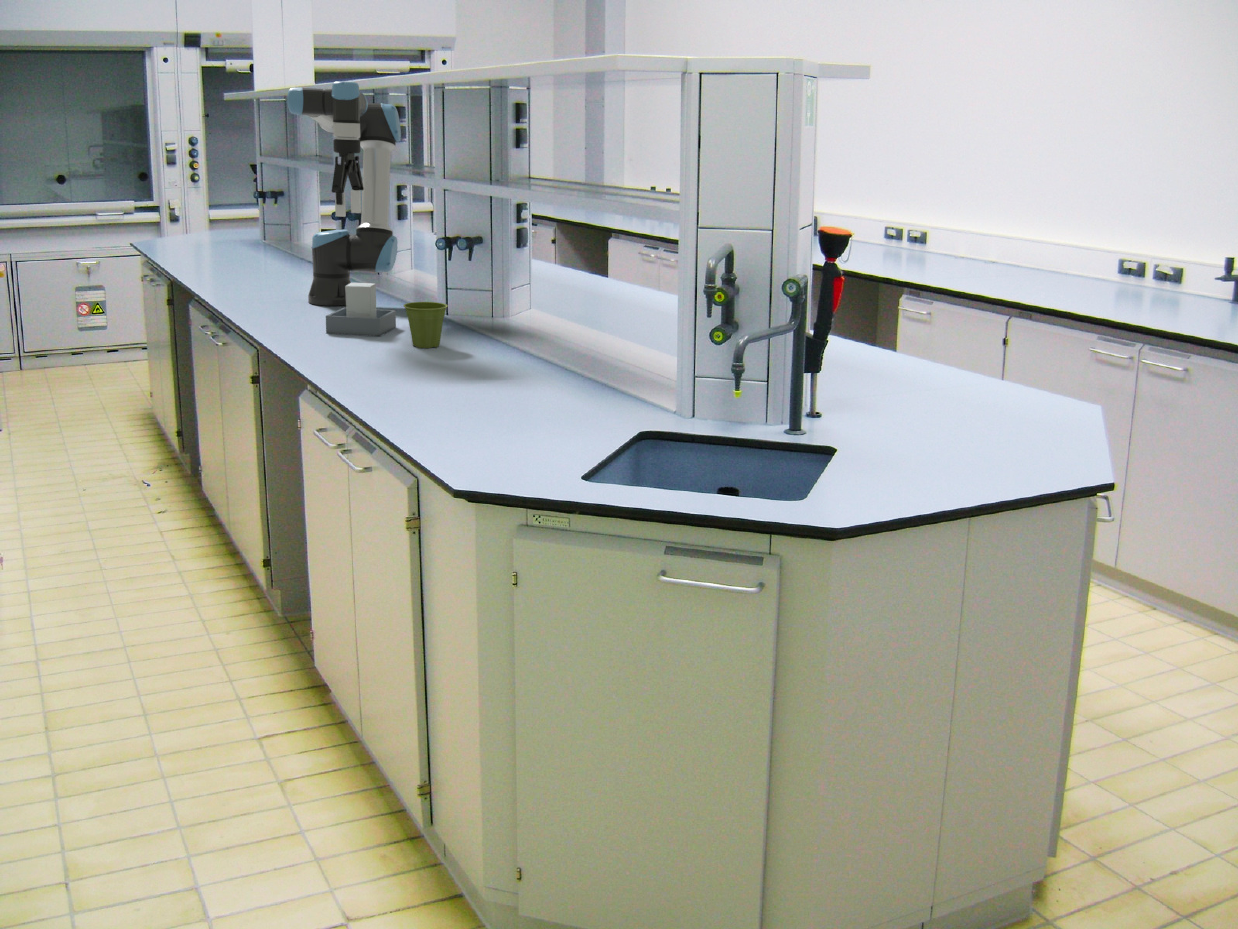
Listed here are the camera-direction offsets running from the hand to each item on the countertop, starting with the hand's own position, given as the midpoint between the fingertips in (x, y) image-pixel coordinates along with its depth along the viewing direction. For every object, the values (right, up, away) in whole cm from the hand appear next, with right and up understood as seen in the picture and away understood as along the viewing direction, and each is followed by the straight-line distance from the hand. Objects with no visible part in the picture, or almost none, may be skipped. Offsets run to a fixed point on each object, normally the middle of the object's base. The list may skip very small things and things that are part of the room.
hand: (348, 214), depth 340 cm
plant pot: (+26, -40, -19) cm, 51 cm away
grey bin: (+4, -34, -1) cm, 34 cm away
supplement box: (+4, -33, -1) cm, 33 cm away
